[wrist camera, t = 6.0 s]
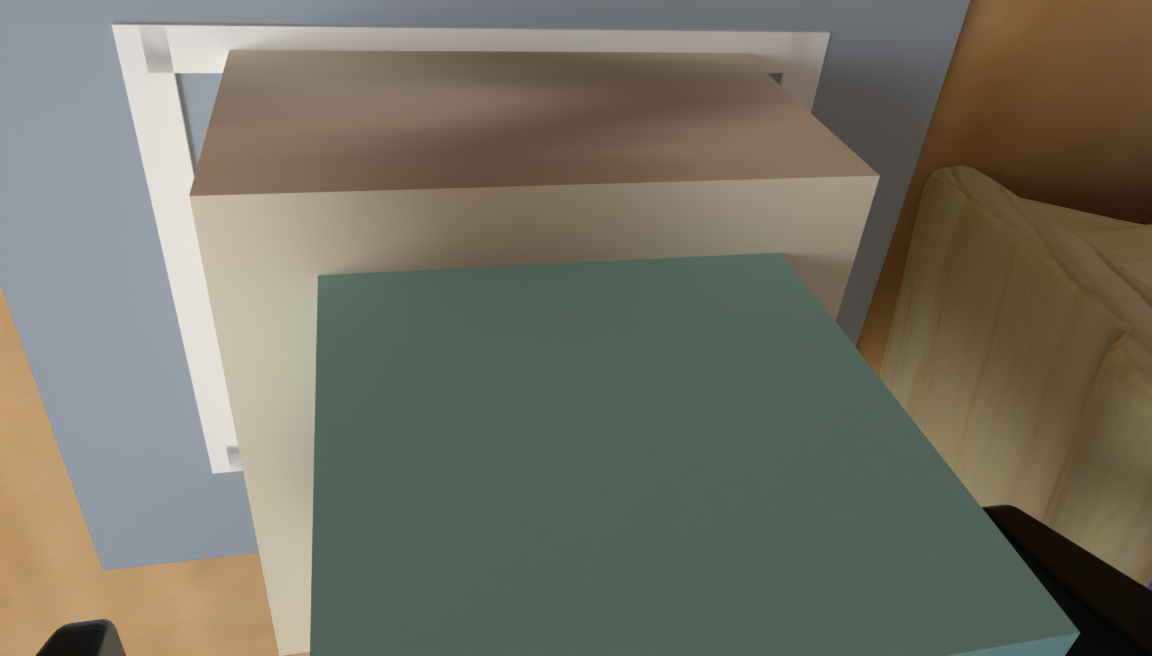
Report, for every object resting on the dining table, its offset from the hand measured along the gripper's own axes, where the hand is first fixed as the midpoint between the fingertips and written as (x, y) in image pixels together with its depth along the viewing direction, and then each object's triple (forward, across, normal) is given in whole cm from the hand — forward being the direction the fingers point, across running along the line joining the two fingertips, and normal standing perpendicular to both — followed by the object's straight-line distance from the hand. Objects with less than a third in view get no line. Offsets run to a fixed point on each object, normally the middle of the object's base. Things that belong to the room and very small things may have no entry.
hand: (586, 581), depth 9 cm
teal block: (+2, 0, 0) cm, 2 cm away
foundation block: (+6, 0, 0) cm, 6 cm away
